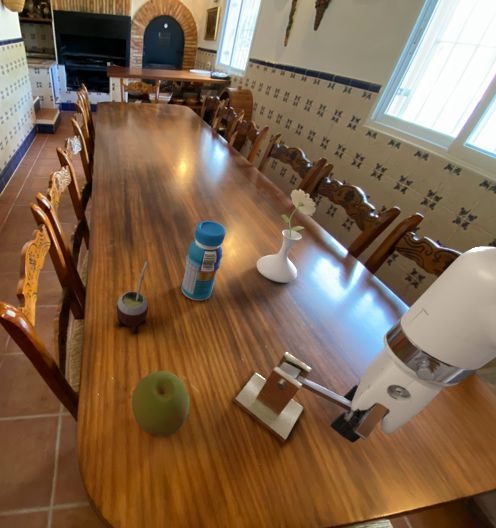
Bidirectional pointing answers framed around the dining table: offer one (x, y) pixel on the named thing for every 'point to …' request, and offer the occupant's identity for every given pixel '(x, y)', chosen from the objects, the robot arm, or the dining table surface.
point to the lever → (318, 389)
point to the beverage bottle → (203, 260)
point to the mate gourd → (132, 307)
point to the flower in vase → (286, 244)
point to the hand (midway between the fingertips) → (348, 418)
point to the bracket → (274, 398)
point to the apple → (160, 403)
